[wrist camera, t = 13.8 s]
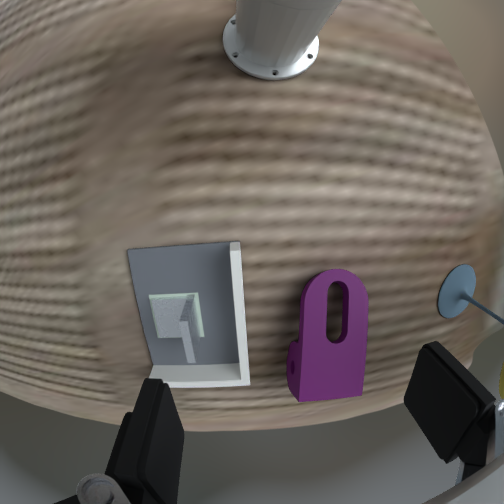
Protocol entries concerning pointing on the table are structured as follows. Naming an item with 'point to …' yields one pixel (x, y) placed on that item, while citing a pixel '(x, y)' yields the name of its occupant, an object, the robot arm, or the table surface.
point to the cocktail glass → (463, 299)
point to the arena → (208, 308)
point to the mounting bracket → (321, 349)
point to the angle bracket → (179, 321)
